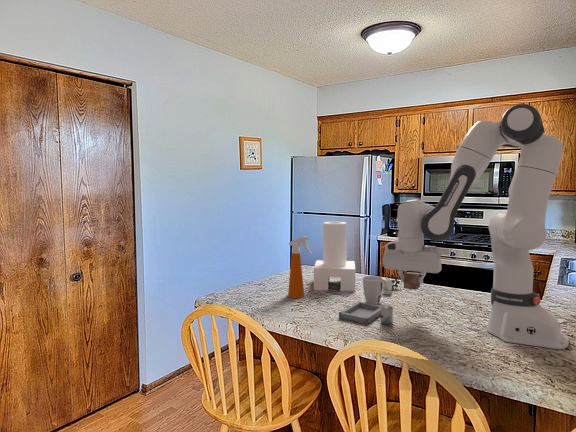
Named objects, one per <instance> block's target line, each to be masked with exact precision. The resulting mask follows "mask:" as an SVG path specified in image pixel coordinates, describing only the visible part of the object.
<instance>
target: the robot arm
mask: <svg viewBox="0 0 576 432" xmlns="http://www.w3.org/2000/svg"><path fill="white" fill-rule="evenodd" d="M500 147H505V148H518V149H519V148H520V155H519V156H520V157H519V160H518V163H517V165H516V168H515V170H514V173H513V177H512V178H511V182H510V185H509V188H508V202H507V210H505V211H502V212H500V213H497V214H495V215H493V216H492V217H491V218H490V220H489V222H488V231H489V236H490V244H491V252H492V260H493V279H492V280H493V282H492V287H491V290H490V305H491V308H490V314H489V318H488V322H487V324H486V326H485V329H486V331H487V332H488V333H490V334H491V335H493V336H495V337H498V339H500V340H501V341H503V342H507V343H514V344H519V345H526V346H533V347H541V348H547V349H553V350H564V349H566V348H568V346H569V344H570V343H569V340H570V339H569V337H568V335H566V334H565V332H562V331H561V326H560V323H559V321H558V319H557V318H556V316H554V315H553V314H552V313H551V312H550V311H548V310H547V309H546V308H544V307H543V306H542V305H540V304H541V301H542V299H541V296H540V293H536V292H535V291H534V290H533V288H534V271H535V270H534V266H533V263H532V260H531V255H530V251H532V250H536V249H538V248H540V247H541V246H542V245H543V244H544V243H545V241H546V240H547V229H546V216H547V209H548V202H549V198H550V195H551V192H552V189H553V186H554V184H555V180H556V179H557V178H556V177H557V176H558V172H559V169H560V166H561V161H562V157H563V152H564V150H563V149H564V145H563V142H562V140H560V139H559V138H557V137H556V136H553V135H548V134H546V133H545V127H544V123H543V120H542V115H541V114H540V112H539V111H538V109H537V108H536V107H534V106H532V105H530V104H526V103H518V104H516V105H513V106H511V107H509V108H508V109H507V110H506V111H505V112H504V113H503V115H502V117H501V119H500V121H497V122H495V121H492V120H488V119H487V120H486V119H485V120H479V121H477V122H475V123H474V124H473V125H472V127H471V128H470V129H469V131H467V133H466V134H465V136H464V137H463V138H462V140H461V142H460V144H459V146H458V147H457V149H456V152H455V154H454V157H453V159H452V162H451V165H450V166H451V167H450V178H449V181H448V184H447V186H446V187H445V190H444V191H443V193H442V195H441V197H440V199H439V200H438V202H437V204H436V205H435V206H433V205H431V204H428V203H426V202H424V201H422V200H421V199H419V198H414V199H408V200H405V201H402V202H401V203H400V204H399V205H398V208H397V214H396V215H397V224H396V225H397V228H398V234H397V240H393V241H391V242H390V241H389V242H388V243H386V244H385V245H384V249H385V250H384V253H383V256H382V267H383V268H384V269H385V270H393V271H394V270H395V271H397V274H398V276H399V277H400V283H404V280H403V275H404V271H407V272H415V273H420V278H418V279H417V281H418V282H417V284H420V285H423V284H424V278H425V276H426V275H427V274H428V273H431V274H439V273H440V272H441V271H442V268H443V267H442V260H441V257H442V250H441V248H439V247H437V246H436V245H425V244H424V243H425V241H424V240H425V239H424V238H425V237H426V238H427V239H428V240H431V241H434V242H441V241H445V240H447V239H448V238H450V237H451V235H452V234H453V232H454V230H455V222H456V221H455V219H456V215H457V212H458V210H459V208H460V206H461V204H462V202H463V201H464V199H465V197H466V196H467V194H468V192H469V190H470V189H471V188H472V186H473V185H474V184H475V182H477V181H478V180H479V178H480V177H481V176H482V174H483V173H484V172H485V171H486V169H487V168H488V166H489V164H490V163H491V162H492V160H493V158H494V156H495V154H496V152H497V151H498V149H500Z"/></svg>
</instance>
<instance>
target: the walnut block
mask: <svg viewBox="0 0 576 432" xmlns="http://www.w3.org/2000/svg"><path fill="white" fill-rule="evenodd" d="M418 278H421V275H420V272H414V271H407V272H406V273H403V280H404V282H403V289H409V290H415V291H416V290H418V289H419V288H420V287H421V284H417V282H418V281H417V279H418Z"/></svg>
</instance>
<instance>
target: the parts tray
mask: <svg viewBox="0 0 576 432" xmlns="http://www.w3.org/2000/svg"><path fill="white" fill-rule="evenodd" d="M381 306H382V305H377V304H369V303H367V302H363V301H357V302H356V303H354V304H352V305H350V306H348V307H346V308H344V309H343V310H341V311H340V312H338V319H339V320H343V321H346V322H347V321H348V322H353V323H357V324H361V325H366V326H368V325H370V324H371V323H372V322H373V321H375V320H376V319H378V318H379V317H381Z"/></svg>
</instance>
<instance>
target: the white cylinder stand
mask: <svg viewBox="0 0 576 432" xmlns="http://www.w3.org/2000/svg"><path fill="white" fill-rule="evenodd" d="M322 224H323V226H322V229H323V231H322V233H323V235H322V237H323V243H322V244H323V246H322V247H323V248H322V249H323V257H322V258H323V260H320V259H317V260H315V262H314V263H315V264H314V266H313V290H314V291H329V281H330V280H331V278H340V291H341V292H342V291H343V292H356V265H355V260H347V258H348V257H347V255H348V254H347V253H348V252H347V248H348V246H347V242H348V240H347V237H348V235H347V234H348V233H347V232H348V229H347V228H348V227H347V225H348V223H347V222H346V221H345V222H344V221H324V222H323V223H322Z"/></svg>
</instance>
